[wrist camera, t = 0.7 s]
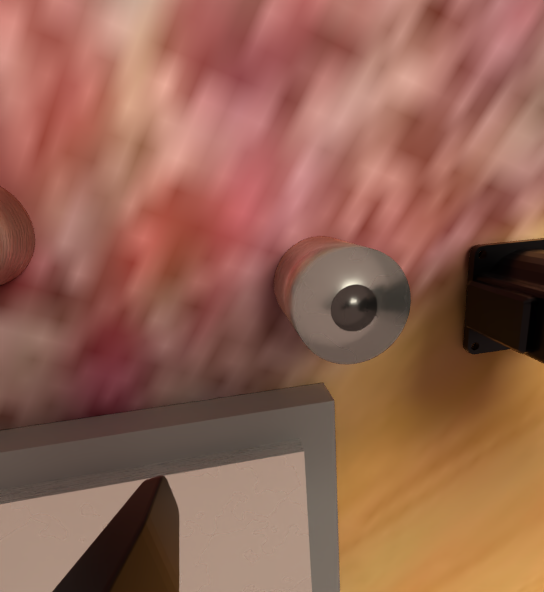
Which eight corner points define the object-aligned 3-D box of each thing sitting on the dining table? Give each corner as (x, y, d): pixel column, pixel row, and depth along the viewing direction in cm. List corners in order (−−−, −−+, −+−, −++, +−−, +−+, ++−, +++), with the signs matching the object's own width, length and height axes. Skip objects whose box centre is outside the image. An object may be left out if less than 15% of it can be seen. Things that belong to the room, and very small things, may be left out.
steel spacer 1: (362, 232, 19) (413, 241, 15) (362, 320, 21) (409, 356, 16) (270, 240, 19) (291, 253, 14) (276, 331, 20) (298, 372, 15)
